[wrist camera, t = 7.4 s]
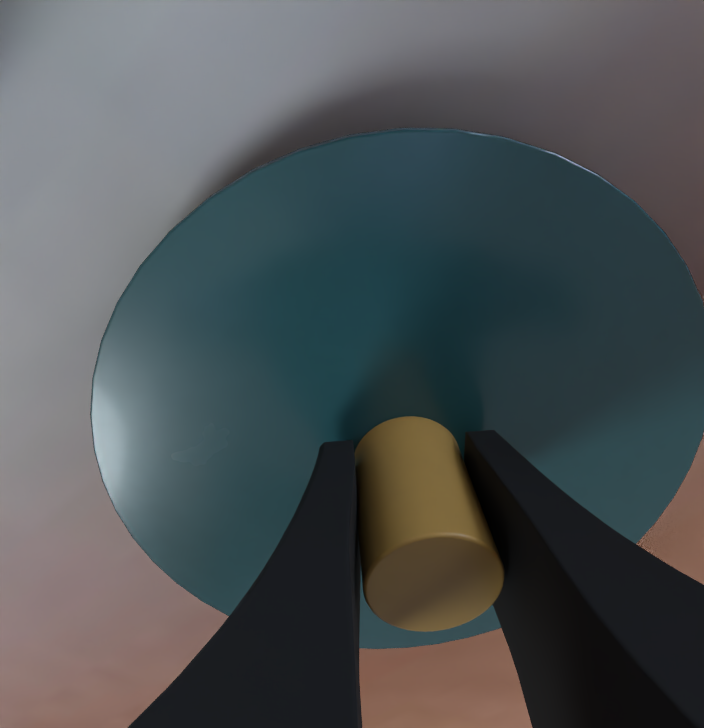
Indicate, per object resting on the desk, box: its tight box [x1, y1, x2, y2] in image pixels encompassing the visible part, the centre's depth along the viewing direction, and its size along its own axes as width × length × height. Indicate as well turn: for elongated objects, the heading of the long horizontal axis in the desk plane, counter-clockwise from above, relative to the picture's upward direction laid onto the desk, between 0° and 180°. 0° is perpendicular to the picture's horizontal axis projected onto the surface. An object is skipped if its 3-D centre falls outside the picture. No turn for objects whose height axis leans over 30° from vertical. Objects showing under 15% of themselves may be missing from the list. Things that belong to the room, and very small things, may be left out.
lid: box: [90, 128, 704, 649], centre depth 11 cm, size 14×14×4 cm
